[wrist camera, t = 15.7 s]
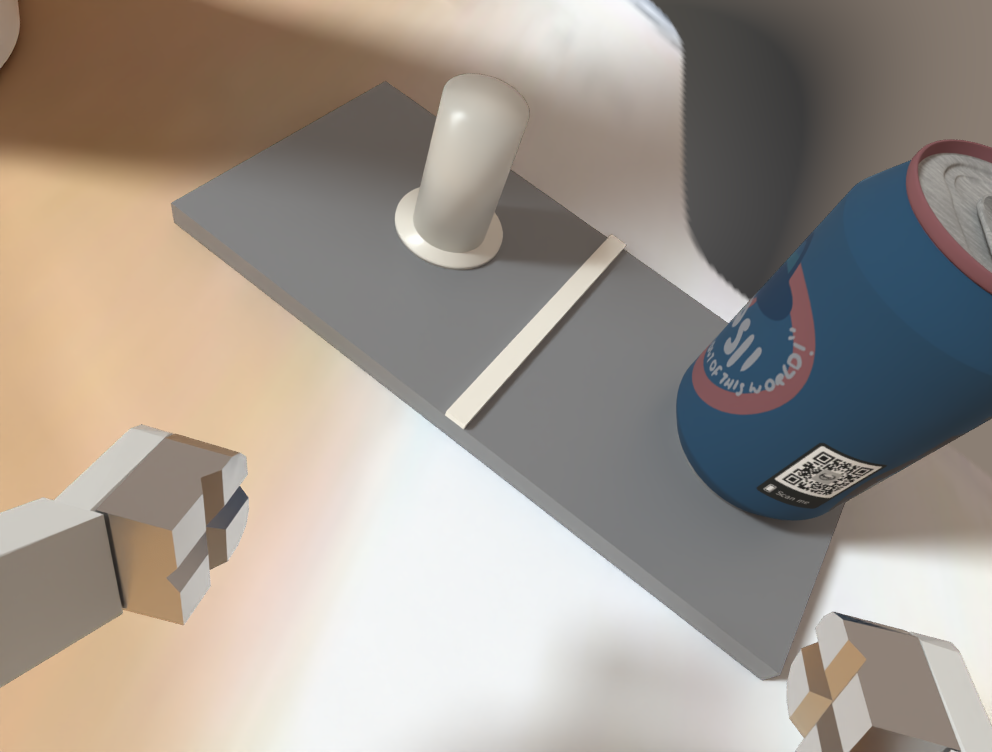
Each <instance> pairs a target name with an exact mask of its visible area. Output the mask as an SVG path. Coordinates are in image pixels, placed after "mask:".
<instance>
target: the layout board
mask: <svg viewBox="0 0 992 752" xmlns="http://www.w3.org/2000/svg"><path fill="white" fill-rule="evenodd" d="M529 116H530V111H529V107H528V104H527V102H526V101H525V99H524V98H523V96H522V95H521V94H520V93H519V92H518V91H517V90H516V89H514V88H513V87H512V86H510V85H509V84H507V83H505V82H503V81H501V80H499V79H497V78H494V77H491V76H487V75H482V74H462V75H458V76H455V77H453V78H451V79H450V80H449V81H448V82H447V83H446V84H445V86H444V89H443V92H442V97H441V101H440V105H439V109H438V113H437V117H436V116H434V115H433V114H431V113H430V112H429V111H427V110H426V109H424V108H423V107H421V106H420V105H419V104H417V103H416V102H414V101H413V100H412V99H410V98H409V97H407V96H406V95H404V94H403V93H402V92H400V91H399V90H397V89H396V88H395V87H393V86H392V85H390V84H389V83H388V82H386V81H385V82H383V83H381V84H379V85H377V86H376V87H374V88H372V89H370V90H369V91H367V92H365V93H363V94H362V95H360V96H358V97H356V98H355V99H353V100H351V101H349V102H348V103H346V104H344V105H342V106H341V107H339V108H337V109H335V110H334V111H332V112H330V113H328V114H327V115H325V116H323V117H321V118H320V119H318V120H316V121H314V122H313V123H311V124H309V125H307V126H305V127H304V128H302V129H300V130H298V131H297V132H295V133H293V134H291V135H290V136H288V137H286V138H284V139H283V140H281V141H279V142H277V143H276V144H274V145H272V146H270V147H269V148H267V149H265V150H263V151H262V152H260V153H258V154H256V155H255V156H253V157H251V158H249V159H248V160H246V161H244V162H242V163H241V164H239V165H237V166H235V167H233V168H232V169H230V170H228V171H226V172H225V173H223V174H221V175H219V176H218V177H216V178H214V179H212V180H211V181H209V182H207V183H205V184H204V185H202V186H200V187H198V188H197V189H195V190H193V191H191V192H190V193H188V194H186V195H184V196H183V197H181V198H179V199H177V200H176V201H174V202H172V203H171V205H172V211H173V218H174V223H176V224H177V225H178V226H179V227H181V228H182V229H183V230H185V231H186V232H187V233H188V234H190V235H191V236H192V237H194V238H195V239H196V240H197V241H199V242H200V243H201V244H202V245H204V246H205V247H206V248H208V249H209V250H210V251H211V252H213V253H214V254H215V255H217V256H218V257H219V258H220V259H222V260H223V261H224V262H226V263H227V264H228V265H229V266H231V267H232V268H233V269H235V270H236V271H237V272H238V273H240V274H241V275H242V276H244V277H245V278H246V279H247V280H249V281H250V282H251V283H253V284H254V285H255V286H256V287H258V288H259V289H260V290H262V291H263V292H264V293H265V294H267V295H268V296H269V297H270V298H272V299H273V300H274V301H276V302H277V303H278V304H279V305H281V306H282V307H283V308H285V309H286V310H287V311H288V312H290V313H291V314H292V315H294V316H295V317H296V318H297V319H299V320H300V321H301V322H303V323H304V324H305V325H306V326H308V327H309V328H310V329H312V330H313V331H314V332H315V333H317V334H318V335H319V336H321V337H322V338H323V339H324V340H326V341H327V342H328V343H330V344H331V345H332V346H333V347H335V348H336V349H337V350H339V351H340V352H341V353H342V354H344V355H345V356H346V357H347V358H349V359H350V360H351V361H353V362H354V363H355V364H356V365H358V366H359V367H360V368H362V369H363V370H364V371H365V372H367V373H368V374H369V375H371V376H372V377H373V378H374V379H376V380H377V381H378V382H380V383H381V384H382V385H383V386H385V387H386V388H387V389H389V390H390V391H391V392H392V393H394V394H395V395H396V396H398V397H399V398H400V399H401V400H403V401H404V402H405V403H407V404H408V405H409V406H410V407H412V408H413V409H414V410H415V411H417V412H418V413H419V414H421V415H422V416H423V417H424V418H426V419H427V420H428V421H430V422H431V423H432V424H433V425H435V426H436V427H437V428H439V429H440V430H441V431H442V432H444V433H445V434H446V435H448V436H449V437H450V438H451V439H453V440H454V441H455V442H457V443H458V444H459V445H460V446H462V447H463V448H464V449H466V450H467V451H468V452H469V453H471V454H472V455H473V456H475V457H476V458H477V459H478V460H480V461H481V462H482V463H484V464H485V465H486V466H487V467H489V468H490V469H491V470H492V471H494V472H495V473H496V474H498V475H499V476H500V477H501V478H503V479H504V480H505V481H507V482H508V483H509V484H510V485H512V486H513V487H514V488H516V489H517V490H518V491H519V492H521V493H522V494H523V495H525V496H526V497H527V498H528V499H530V500H531V501H532V502H534V503H535V504H536V505H537V506H539V507H540V508H541V509H543V510H544V511H545V512H546V513H548V514H549V515H550V516H552V517H553V518H554V519H555V520H557V521H558V522H559V523H561V524H562V525H563V526H564V527H566V528H567V529H568V530H569V531H571V532H572V533H573V534H575V535H576V536H577V537H578V538H580V539H581V540H582V541H584V542H585V543H586V544H587V545H589V546H590V547H591V548H593V549H594V550H595V551H596V552H598V553H599V554H600V555H602V556H603V557H604V558H605V559H607V560H608V561H609V562H611V563H612V564H613V565H614V566H616V567H617V568H618V569H620V570H621V571H622V572H623V573H625V574H626V575H627V576H629V577H630V578H631V579H632V580H634V581H635V582H636V583H637V584H639V585H640V586H641V587H643V588H644V589H645V590H646V591H648V592H649V593H650V594H652V595H653V596H654V597H655V598H657V599H658V600H659V601H661V602H662V603H663V604H664V605H666V606H667V607H668V608H670V609H671V610H672V611H673V612H675V613H676V614H677V615H679V616H680V617H681V618H682V619H684V620H685V621H686V622H688V623H689V624H690V625H691V626H693V627H694V628H695V629H697V630H698V631H699V632H700V633H702V634H703V635H704V636H706V637H707V638H708V639H709V640H711V641H712V642H713V643H714V644H716V645H717V646H718V647H720V648H721V649H722V650H723V651H725V652H726V653H727V654H729V655H730V656H731V657H732V658H734V659H735V660H736V661H738V662H739V663H740V664H741V665H743V666H744V667H745V668H747V669H748V670H749V671H750V672H752V673H753V674H754V675H756V676H757V677H758V678H759V679H761V680H765V679H768V678H772V677H775V676H778V675H780V674H781V672H782V669H783V666H784V664H785V661H786V658H787V656H788V653H789V650H790V648H791V645H792V642H793V640H794V637H795V634H796V632H797V629H798V626H799V624H800V621H801V618H802V616H803V613H804V610H805V608H806V605H807V602H808V600H809V597H810V594H811V592H812V589H813V586H814V584H815V581H816V578H817V576H818V573H819V570H820V568H821V565H822V562H823V560H824V557H825V555H826V552H827V549H828V547H829V544H830V541H831V539H832V536H833V533H834V531H835V528H836V525H837V523H838V520H839V517H840V515H841V512H842V509H843V507H844V504H845V503H843V504H841V505H839V506H838V507H836V508H834V509H832V510H831V511H829V512H827V513H825V514H823V515H821V516H818V517H815V518H812V519H807V520H797V521H790V520H779V519H773V518H768V517H764V516H760V515H756V514H753V513H749V512H746V511H743V510H740V509H738V508H735V507H733V506H731V505H729V504H728V503H726V502H724V501H723V500H721V499H720V498H718V497H717V496H716V495H715V494H713V493H712V492H711V491H710V490H709V489H708V488H707V487H706V486H705V485H704V484H703V483H702V482H701V481H700V480H699V479H698V477H697V476H696V475H695V474H694V472H693V471H692V469H691V468H690V466H689V464H688V462H687V460H686V459H685V456H684V454H683V452H682V449H681V446H680V442H679V438H678V430H677V419H676V401H677V393H678V389H679V385H680V383H681V380H682V378H683V376H684V374H685V372H686V371H687V369H688V368H689V367H690V365H691V364H692V363H693V362H694V361H695V360H696V359H697V358H698V357H699V355H700V354H701V353H702V352H703V351H704V350H705V349H706V348H707V347H708V346H709V345H710V343H711V342H712V341H713V340H714V339H715V338H716V337H717V336H718V335H719V334H720V332H721V331H722V330H723V329H724V328H725V327H726V326H727V325H728V324H729V323H727V322H726V321H724V320H723V319H722V318H720V317H719V316H717V315H716V314H714V313H713V312H712V311H710V310H709V309H707V308H706V307H705V306H703V305H702V304H700V303H699V302H697V301H696V300H695V299H693V298H692V297H690V296H689V295H688V294H686V293H685V292H683V291H682V290H680V289H679V288H678V287H676V286H675V285H673V284H672V283H671V282H669V281H668V280H666V279H665V278H663V277H662V276H661V275H659V274H658V273H656V272H655V271H654V270H652V269H651V268H649V267H648V266H646V265H645V264H644V263H642V262H641V261H639V260H638V259H637V258H635V257H634V256H632V255H631V254H630V253H628V252H627V251H625V250H624V248H625V246H626V244H625V243H623V242H622V241H621V240H619V239H618V238H616V237H615V236H614V235H612V234H611V235H610V236H609V237H608V238H607V237H605V236H604V235H603V234H601V233H600V232H598V231H597V230H596V229H594V228H593V227H591V226H590V225H588V224H587V223H586V222H584V221H583V220H581V219H580V218H579V217H577V216H576V215H574V214H573V213H571V212H570V211H569V210H567V209H566V208H564V207H563V206H562V205H560V204H559V203H557V202H556V201H555V200H553V199H552V198H550V197H549V196H547V195H546V194H545V193H543V192H542V191H540V190H539V189H538V188H536V187H535V186H533V185H532V184H530V183H529V182H528V181H526V180H525V179H523V178H522V177H521V176H519V175H518V174H516V173H515V172H513V171H512V170H511V166H512V163H513V161H514V158H515V155H516V153H517V150H518V147H519V145H520V142H521V139H522V136H523V134H524V131H525V128H526V126H527V123H528V120H529Z"/></svg>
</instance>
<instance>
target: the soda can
mask: <svg viewBox="0 0 992 752" xmlns="http://www.w3.org/2000/svg"><path fill="white" fill-rule="evenodd" d="M676 419H677V430H678V438H679V442H680V446H681V449H682V452H683V454H684V456H685V459H686V460H687V462H688V464H689V466H690V468H691V469H692V471H693V472H694V474H695V475H696V476H697V477H698V479H699V480H700V481H701V482H702V483H703V484H704V485H705V486H706V487H707V488H708V489H709V490H710V491H711V492H712V493H713V494H715V495H716V496H717V497H718V498H720V499H721V500H723V501H724V502H726V503H728V504H729V505H731V506H733V507H735V508H738V509H740V510H743V511H746V512H749V513H753V514H756V515H760V516H764V517H768V518H773V519H779V520H790V521H797V520H807V519H812V518H815V517H818V516H821V515H823V514H825V513H827V512H829V511H831V510H832V509H834V508H836V507H838V506H839V505H841V504H843V503H845V502H846V501H848V500H850V499H852V498H853V497H855V496H857V495H859V494H860V493H862V492H864V491H866V490H867V489H869V488H871V487H873V486H874V485H876V484H878V483H880V482H881V481H883V480H885V479H887V478H888V477H890V476H892V475H894V474H895V473H897V472H899V471H901V470H902V469H904V468H906V467H908V466H909V465H911V464H913V463H915V462H916V461H918V460H920V459H922V458H923V457H925V456H927V455H929V454H930V453H932V452H934V451H936V450H937V449H939V448H941V447H943V446H944V445H946V444H948V443H950V442H951V441H953V440H955V439H957V438H958V437H960V436H962V435H964V434H965V433H967V432H969V431H970V430H972V429H974V428H976V427H978V426H979V425H981V424H983V423H985V422H986V421H988V420H990V419H992V148H991V147H988V146H985V145H982V144H978V143H974V142H969V141H964V140H940V141H936V142H933V143H930V144H928V145H926V146H925V147H923V148H922V149H921V150H920V151H918V153H917V154H916V155H915V156H914V157H913V158H912V160H910V161H908V162H905V163H902V164H900V165H898V166H895V167H892V168H890V169H887V170H885V171H882V172H880V173H877V174H875V175H873V176H870V177H868V178H866V179H864V180H862V181H860V182H859V183H858V184H856V185H855V186H854V187H853V188H852V189H851V190H850V191H849V192H848V194H847V195H846V196H845V197H844V198H843V199H842V200H841V201H840V202H839V203H838V205H837V206H836V207H835V208H834V209H833V210H832V211H831V212H830V213H829V214H828V215H827V217H826V218H825V219H824V220H823V221H822V222H821V223H820V224H819V225H818V226H817V227H816V229H815V230H814V231H813V232H812V233H811V234H810V235H809V236H808V237H807V238H806V239H805V241H804V242H803V243H802V244H801V245H800V246H799V247H798V248H797V249H796V251H795V252H794V253H793V254H792V255H791V256H790V257H789V258H788V259H787V260H786V262H785V263H784V264H783V265H782V266H781V267H780V268H779V269H778V270H777V271H776V272H775V274H774V275H773V276H772V277H771V278H770V279H769V280H768V281H767V282H766V283H765V284H764V286H763V287H762V288H761V289H760V290H759V291H758V292H757V293H756V294H755V295H754V296H753V297H752V299H751V300H750V301H749V302H748V303H747V304H746V305H745V306H744V307H743V308H742V310H741V311H740V312H739V313H738V314H737V315H736V316H735V317H734V318H733V319H732V320H731V322H730V323H729V324H728V325H727V326H726V327H725V328H724V329H723V330H722V331H721V332H720V334H719V335H718V336H717V337H716V338H715V339H714V340H713V341H712V342H711V343H710V345H709V346H708V347H707V348H706V349H705V350H704V351H703V352H702V353H701V354H700V355H699V357H698V358H697V359H696V360H695V361H694V362H693V363H692V364H691V365H690V367H689V368H688V369H687V371H686V372H685V374H684V376H683V378H682V380H681V383H680V385H679V389H678V393H677V401H676Z"/></svg>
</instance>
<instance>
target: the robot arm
mask: <svg viewBox="0 0 992 752" xmlns="http://www.w3.org/2000/svg"><path fill="white" fill-rule="evenodd" d="M19 29H20V15H19V7H18V0H0V68H1V67H2V66H3V64H4V63H5V62H6V61H7V59H8V58H9V56H10V54H11V53H12V51H13V49H14V47H15V44H16V42H17V38H18V35H19ZM247 475H248V472H247V460H246V456H244V455H243V454H241V453H239V452H236V451H232V450H229V449H226V448H222V447H219V446H216V445H212V444H209V443H205V442H202V441H199V440H195V439H192V438H189V437H185V436H182V435H178V434H173V433H169V432H166V431H163V430H159V429H156V428H152V427H149V426H146V425H142V424H141V425H139V426H136V427H133V428H131V429H129V430H128V431H127V432H126V433H125V434H124V435H123V436H122V437H120V438H119V439H118V440H117V441H116V442H115V443H114V444H113V445H112V446H111V447H110V448H109V449H108V450H107V451H106V452H104V453H103V454H102V455H101V456H100V457H99V458H98V459H97V460H96V461H95V462H94V463H93V464H92V465H91V466H90V467H88V468H87V469H86V470H85V471H84V472H83V473H82V474H81V475H80V476H79V477H78V478H77V479H76V480H75V481H74V482H73V483H71V484H70V485H69V486H68V487H67V488H66V489H65V490H64V491H63V492H62V493H61V494H60V495H59V496H58V497H57V498H55V499H54V500H51V499H47V498H40V499H38V500H35V501H32V502H29V503H26V504H24V505H21V506H18V507H15V508H12V509H10V510H7V511H4V512H1V513H0V688H1V687H2V686H4V685H6V684H7V683H9V682H11V681H12V680H14V679H16V678H17V677H19V676H21V675H22V674H24V673H25V672H27V671H29V670H30V669H32V668H34V667H35V666H37V665H39V664H40V663H42V662H44V661H45V660H47V659H49V658H50V657H52V656H54V655H55V654H57V653H58V652H60V651H62V650H63V649H65V648H67V647H68V646H70V645H72V644H73V643H75V642H77V641H78V640H80V639H82V638H83V637H85V636H87V635H88V634H90V633H91V632H93V631H95V630H96V629H98V628H100V627H101V626H103V625H105V624H106V623H108V622H110V621H111V620H113V619H115V618H116V617H118V616H120V615H121V614H122V613H123V610H126V611H130V612H134V613H138V614H142V615H146V616H150V617H154V618H157V619H161V620H165V621H169V622H173V623H177V624H181V625H184V624H185V623H186V621H187V620H188V618H189V617H190V616H191V614H192V613H193V611H194V610H195V608H196V607H197V605H198V604H199V602H200V601H201V599H202V598H203V597H204V595H205V594H206V592H207V591H208V589H209V588H210V586H211V585H210V571H209V570H211V569H213V568H215V567H217V566H219V565H221V564H223V563H225V562H227V561H228V560H229V558H230V557H231V555H232V554H233V552H234V551H235V549H236V547H237V546H238V544H239V541H240V539H241V537H242V534H243V532H244V529H245V527H246V523H247V517H248V511H249V499H248V496H247V495H246V494H245V492H244V491H243V490H242V488H241V487H240V484H241V483H242V482H243V480H244V479H245V477H246V476H247ZM815 630H816V634H817V639H818V642H817V643H814V644H812V645H809V646H806V647H804V648H801V649H800V651H799V653H798V654H797V656H796V657H795V659H794V661H793V662H792V664H791V668H790V672H789V676H788V680H787V706H788V713H789V719H790V720H791V721H792V723H793V724H794V725H795V727H796V728H797V729H798V731H799V732H800V733H801V735H802V736H803V737H804V739H803V740H802V742H801V743H800V745H799V746H798V748H797V749H796V751H795V752H992V725H991V723H990V721H989V718H988V716H987V714H986V711H985V709H984V707H983V704H982V702H981V700H980V697H979V695H978V693H977V690H976V688H975V686H974V683H973V681H972V679H971V676H970V674H969V672H968V669H967V667H966V665H965V662H964V660H963V658H962V655H961V653H960V652H959V650H958V649H957V648H956V647H955V646H954V645H953V644H952V643H951V642H948V641H944V640H941V639H937V638H933V637H929V636H925V635H921V634H917V633H914V632H907V631H905V630H902V629H898V628H894V627H890V626H887V625H883V624H879V623H875V622H871V621H867V620H863V619H859V618H856V617H852V616H848V615H844V614H840V613H836V612H831V613H829V614H827V615H825V616H824V617H823V618H822V619H821V621H820V622H819V624H818V625H817V626H816V628H815Z"/></svg>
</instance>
